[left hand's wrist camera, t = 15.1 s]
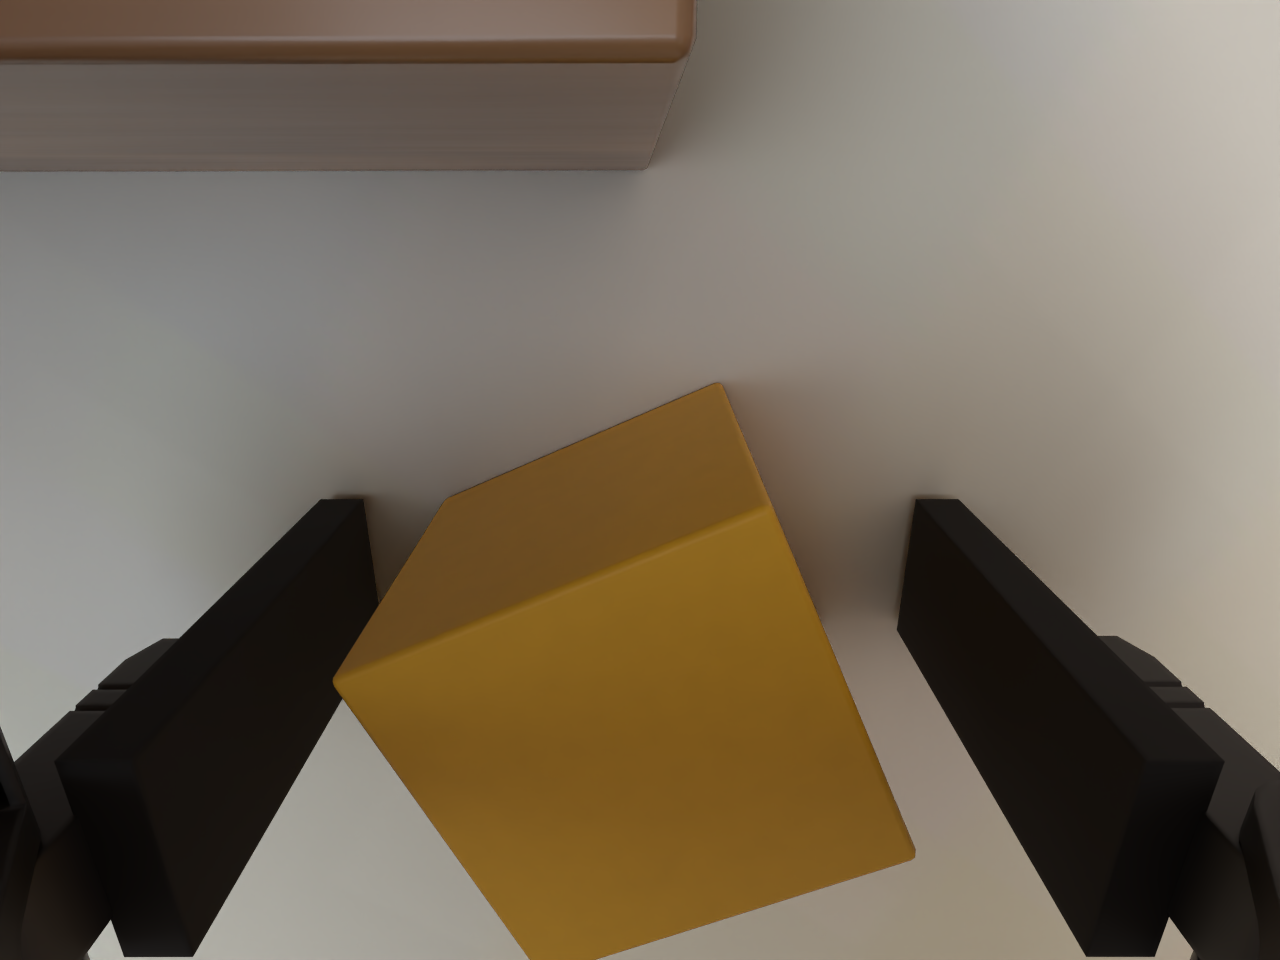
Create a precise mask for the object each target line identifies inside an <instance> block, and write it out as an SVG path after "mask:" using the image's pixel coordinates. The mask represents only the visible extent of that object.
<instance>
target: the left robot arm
mask: <svg viewBox="0 0 1280 960" xmlns="http://www.w3.org/2000/svg"><path fill="white" fill-rule="evenodd" d="M378 606H379V604H378V598H377V591H376V584H375V577H374V570H373V564H372V557H371V550H370V543H369V536H368V529H367V523H366V516H365V509H364V502H363V499H321V500H320V501H319V502H318V503H317V504H316V505H315V506H314V507H312V508H311V509H310V510H309V511H308V512H307V513H306V514H305V515H304V516H303V517H302V518H301V519H300V520H299V521H298V522H297V523H296V524H295V525H294V526H293V527H292V528H291V529H290V530H289V531H288V532H287V533H286V534H285V535H284V536H283V537H282V538H281V539H280V540H279V541H278V542H277V543H276V544H275V545H274V546H273V547H272V548H271V549H270V550H269V551H268V552H267V553H266V554H265V555H264V556H263V557H262V558H261V559H260V560H259V561H258V562H256V563H255V564H254V565H253V566H252V567H251V568H250V569H249V570H248V571H247V572H246V573H245V574H244V575H243V576H242V577H241V578H240V579H239V580H238V581H237V582H236V583H235V584H234V585H233V586H232V587H231V588H230V589H229V590H228V591H227V592H226V593H225V594H224V595H223V596H222V597H221V598H220V599H219V600H218V601H217V602H216V603H215V604H214V605H213V606H212V607H211V608H210V609H209V610H208V611H207V612H206V613H205V614H204V615H203V616H202V617H200V618H199V619H198V620H197V621H196V622H195V623H194V624H193V625H192V626H191V627H190V628H189V629H188V630H187V631H186V632H185V633H184V634H183V635H182V636H181V637H180V638H179V639H161V640H160V641H158V642H156V643H154V644H152V645H151V646H149V647H147V648H145V649H144V650H142V651H140V652H138V653H137V654H135V655H133V656H131V657H130V658H128V659H126V660H125V661H124V662H122V663H121V664H120V665H119V666H118V667H117V668H116V669H115V670H114V671H113V672H112V673H111V674H109V675H108V676H107V677H106V678H105V679H104V680H103V681H102V682H101V683H100V684H99V685H98V689H97V690H92V691H91V692H90V693H89V694H88V695H87V696H86V697H84V698H83V699H82V700H81V701H80V702H79V703H78V704H77V705H76V709H75V711H69V712H68V713H67V714H66V715H65V716H64V717H63V718H62V719H61V720H60V721H58V722H57V723H56V724H55V725H54V726H53V727H52V728H51V729H50V730H49V731H48V732H46V733H45V734H44V735H43V736H42V737H41V738H40V739H39V740H38V741H37V742H36V743H35V744H33V745H32V746H31V747H30V748H29V749H28V750H27V751H26V752H25V753H24V754H23V755H22V756H20V757H19V758H18V759H17V760H16V761H15V762H14V761H13V758H12V756H11V753H10V751H9V748H8V745H7V743H6V740H5V738H4V735H3V733H2V730H1V727H0V960H90V958H89V956H88V953H87V952H88V950H89V949H90V948H91V946H92V945H93V943H94V942H95V941H96V939H97V938H98V936H99V935H100V934H101V932H102V931H103V930H104V928H105V927H106V925H107V924H108V923H109V921H110V920H111V921H112V924H113V927H114V930H115V932H116V935H117V938H118V941H119V943H120V946H121V949H122V952H123V955H124V957H193V956H194V954H195V952H196V950H197V949H198V947H199V945H200V944H201V942H202V940H203V938H204V937H205V935H206V933H207V931H208V930H209V928H210V926H211V925H212V923H213V921H214V919H215V918H216V916H217V914H218V912H219V911H220V909H221V907H222V906H223V904H224V902H225V900H226V899H227V897H228V895H229V894H230V892H231V890H232V888H233V887H234V885H235V883H236V881H237V880H238V878H239V876H240V875H241V873H242V871H243V869H244V868H245V866H246V864H247V862H248V861H249V859H250V857H251V856H252V854H253V852H254V850H255V849H256V847H257V845H258V843H259V842H260V840H261V838H262V837H263V835H264V833H265V831H266V830H267V828H268V826H269V824H270V823H271V821H272V819H273V818H274V816H275V814H276V812H277V811H278V809H279V807H280V805H281V804H282V802H283V800H284V799H285V797H286V795H287V793H288V792H289V790H290V788H291V786H292V785H293V783H294V781H295V780H296V778H297V776H298V774H299V773H300V771H301V769H302V768H303V766H304V764H305V762H306V761H307V759H308V757H309V755H310V754H311V752H312V750H313V749H314V747H315V745H316V743H317V742H318V740H319V738H320V736H321V735H322V733H323V731H324V730H325V728H326V726H327V724H328V723H329V721H330V719H331V717H332V716H333V714H334V712H335V711H336V709H337V707H338V705H339V704H340V702H341V700H342V697H341V695H340V694H339V693H338V691H337V690H336V688H335V687H334V684H333V677H334V676H335V674H336V673H337V671H338V669H339V668H340V666H341V665H342V663H343V661H344V660H345V658H346V657H347V655H348V653H349V652H350V650H351V649H352V647H353V645H354V644H355V642H356V641H357V639H358V638H359V636H360V634H361V633H362V631H363V630H364V628H365V626H366V625H367V623H368V622H369V620H370V618H371V617H372V615H373V614H374V612H375V610H376V609H377V607H378ZM897 631H898V633H899V634H900V636H901V638H902V640H903V641H904V643H905V645H906V646H907V648H908V650H909V652H910V653H911V655H912V657H913V659H914V660H915V662H916V664H917V665H918V667H919V669H920V671H921V672H922V674H923V676H924V678H925V679H926V681H927V683H928V684H929V686H930V688H931V690H932V691H933V693H934V695H935V697H936V698H937V700H938V702H939V703H940V705H941V707H942V709H943V710H944V712H945V714H946V716H947V717H948V719H949V721H950V722H951V724H952V726H953V728H954V729H955V731H956V733H957V734H958V736H959V738H960V740H961V741H962V743H963V745H964V747H965V748H966V750H967V752H968V753H969V755H970V757H971V759H972V760H973V762H974V764H975V766H976V767H977V769H978V771H979V772H980V774H981V776H982V778H983V779H984V781H985V783H986V785H987V786H988V788H989V790H990V791H991V793H992V795H993V797H994V798H995V800H996V802H997V804H998V805H999V807H1000V809H1001V810H1002V812H1003V814H1004V816H1005V817H1006V819H1007V821H1008V823H1009V824H1010V826H1011V828H1012V829H1013V831H1014V833H1015V835H1016V836H1017V838H1018V840H1019V842H1020V843H1021V845H1022V847H1023V848H1024V850H1025V852H1026V854H1027V855H1028V857H1029V859H1030V861H1031V862H1032V864H1033V866H1034V867H1035V869H1036V871H1037V873H1038V874H1039V876H1040V878H1041V879H1042V881H1043V883H1044V885H1045V886H1046V888H1047V890H1048V892H1049V893H1050V895H1051V897H1052V898H1053V900H1054V902H1055V904H1056V905H1057V907H1058V909H1059V911H1060V912H1061V914H1062V916H1063V917H1064V919H1065V921H1066V923H1067V924H1068V926H1069V928H1070V930H1071V931H1072V933H1073V935H1074V936H1075V938H1076V940H1077V942H1078V943H1079V945H1080V947H1081V949H1082V950H1083V952H1084V954H1085V955H1086V957H1155V954H1156V952H1157V949H1158V946H1159V943H1160V940H1161V938H1162V935H1163V932H1164V929H1165V927H1166V924H1167V921H1168V918H1169V917H1170V918H1171V920H1172V921H1173V923H1174V924H1175V925H1176V927H1177V928H1178V929H1179V931H1180V932H1181V934H1182V935H1183V936H1184V938H1185V939H1186V940H1187V942H1188V943H1189V945H1190V946H1191V947H1192V949H1193V950H1194V951H1193V953H1192V956H1191V958H1190V960H1280V772H1279V771H1278V770H1277V769H1276V768H1275V767H1274V766H1273V765H1272V764H1271V763H1269V762H1268V761H1267V760H1266V759H1265V758H1264V757H1263V756H1262V755H1261V754H1260V753H1259V752H1257V751H1256V750H1255V749H1254V748H1253V747H1252V746H1251V745H1250V744H1249V743H1248V742H1246V741H1245V740H1244V739H1243V738H1242V737H1241V736H1240V735H1239V734H1238V733H1237V732H1236V731H1234V730H1233V729H1232V728H1231V727H1230V726H1229V725H1228V724H1227V723H1226V722H1225V721H1224V720H1222V719H1221V718H1220V717H1219V716H1218V715H1217V714H1216V713H1215V712H1214V711H1213V710H1212V709H1210V708H1205V707H1204V702H1203V701H1202V700H1201V699H1199V698H1198V697H1197V696H1196V695H1195V694H1194V693H1193V692H1192V691H1191V690H1190V689H1189V688H1187V687H1182V685H1181V681H1180V680H1179V679H1178V678H1177V677H1175V676H1174V675H1173V674H1172V673H1171V672H1170V671H1169V670H1168V669H1167V668H1166V667H1165V666H1163V665H1162V664H1161V663H1160V662H1159V661H1158V660H1157V659H1156V658H1155V657H1153V656H1151V655H1150V654H1148V653H1146V652H1144V651H1142V650H1141V649H1139V648H1137V647H1135V646H1134V645H1132V644H1130V643H1128V642H1127V641H1125V640H1123V639H1121V638H1119V637H1118V636H1097V635H1096V634H1095V633H1094V632H1093V631H1092V630H1091V629H1090V628H1089V627H1088V626H1087V625H1086V624H1085V623H1084V622H1083V621H1082V620H1081V619H1080V618H1079V617H1078V616H1077V615H1075V614H1074V613H1073V612H1072V611H1071V610H1070V609H1069V608H1068V607H1067V606H1066V605H1065V604H1064V603H1063V602H1062V601H1061V600H1060V599H1059V598H1058V597H1057V596H1056V595H1055V594H1054V593H1053V592H1052V591H1051V590H1050V589H1049V588H1048V587H1047V586H1046V585H1045V584H1044V583H1043V582H1042V581H1041V580H1040V579H1039V578H1038V577H1037V576H1036V575H1035V574H1034V573H1033V572H1032V571H1031V570H1030V569H1029V568H1028V567H1027V566H1026V565H1025V564H1024V563H1023V562H1022V561H1021V560H1020V559H1018V558H1017V557H1016V556H1015V555H1014V554H1013V553H1012V552H1011V551H1010V550H1009V549H1008V548H1007V547H1006V546H1005V545H1004V544H1003V543H1002V542H1001V541H1000V540H999V539H998V538H997V537H996V536H995V535H994V534H993V533H992V532H991V531H990V530H989V529H988V528H987V527H986V526H985V525H984V524H983V523H982V522H981V521H980V520H979V519H978V518H977V517H976V516H975V515H974V514H973V513H972V512H971V511H970V510H969V509H968V508H967V507H966V506H965V505H964V504H963V503H961V502H960V501H959V500H958V499H916V502H915V509H914V516H913V523H912V530H911V537H910V544H909V550H908V557H907V564H906V571H905V578H904V585H903V591H902V598H901V605H900V612H899V619H898V626H897Z"/></svg>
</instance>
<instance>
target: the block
mask: <svg viewBox="0 0 1280 960" xmlns="http://www.w3.org/2000/svg"><path fill="white" fill-rule="evenodd" d="M333 684H334V687H335V688H336V690H337V691H338V693H339V694H340V695H341V697H342V698H343V700H344V701H345V702H346V704H347V705H348V707H349V708H350V709H351V711H352V712H353V713H354V715H355V716H356V718H357V719H358V720H359V722H360V723H361V725H362V726H363V727H364V729H365V730H366V732H367V733H368V734H369V736H370V737H371V739H372V740H373V741H374V743H375V744H376V746H377V747H378V748H379V750H380V751H381V753H382V754H383V755H384V757H385V758H386V760H387V761H388V762H389V764H390V765H391V767H392V768H393V769H394V771H395V772H396V774H397V775H398V776H399V778H400V779H401V781H402V782H403V783H404V785H405V786H406V788H407V789H408V790H409V792H410V793H411V794H412V796H413V797H414V799H415V800H416V801H417V803H418V804H419V806H420V807H421V808H422V810H423V811H424V813H425V814H426V815H427V817H428V818H429V820H430V821H431V822H432V824H433V825H434V827H435V828H436V829H437V831H438V832H439V834H440V835H441V836H442V838H443V839H444V841H445V842H446V843H447V845H448V846H449V848H450V849H451V850H452V852H453V853H454V855H455V856H456V857H457V859H458V860H459V862H460V863H461V864H462V866H463V867H464V868H465V870H466V871H467V873H468V874H469V875H470V877H471V878H472V880H473V881H474V882H475V884H476V885H477V887H478V888H479V889H480V891H481V892H482V894H483V895H484V896H485V898H486V899H487V901H488V902H489V903H490V905H491V906H492V908H493V909H494V910H495V912H496V913H497V915H498V916H499V917H500V919H501V920H502V922H503V923H504V924H505V926H506V927H507V929H508V930H509V931H510V933H511V934H512V936H513V937H514V938H515V940H516V941H517V943H518V944H519V945H520V947H521V948H522V949H523V951H524V952H525V954H526V955H527V956H528V958H529V959H530V960H596V959H599V958H602V957H605V956H609V955H612V954H615V953H618V952H621V951H624V950H628V949H631V948H634V947H637V946H640V945H644V944H647V943H650V942H653V941H656V940H659V939H663V938H666V937H669V936H672V935H675V934H678V933H682V932H685V931H688V930H691V929H694V928H697V927H701V926H704V925H707V924H710V923H713V922H716V921H720V920H723V919H726V918H729V917H732V916H736V915H739V914H742V913H745V912H748V911H751V910H755V909H758V908H761V907H764V906H767V905H770V904H774V903H777V902H780V901H783V900H786V899H789V898H793V897H796V896H799V895H802V894H805V893H809V892H812V891H815V890H818V889H821V888H824V887H828V886H831V885H834V884H837V883H840V882H843V881H847V880H850V879H853V878H856V877H859V876H862V875H866V874H869V873H872V872H875V871H878V870H882V869H885V868H888V867H891V866H894V865H897V864H901V863H904V862H907V861H910V860H912V859H913V858H915V847H914V845H913V842H912V840H911V837H910V835H909V833H908V830H907V828H906V825H905V823H904V821H903V818H902V816H901V813H900V811H899V809H898V806H897V804H896V801H895V799H894V797H893V794H892V792H891V789H890V787H889V785H888V782H887V780H886V777H885V775H884V773H883V770H882V768H881V765H880V763H879V761H878V758H877V756H876V753H875V751H874V749H873V746H872V744H871V741H870V739H869V737H868V734H867V732H866V729H865V727H864V724H863V722H862V720H861V717H860V715H859V712H858V710H857V708H856V705H855V703H854V700H853V698H852V696H851V693H850V691H849V688H848V686H847V684H846V681H845V679H844V676H843V674H842V672H841V669H840V667H839V664H838V662H837V660H836V657H835V655H834V652H833V650H832V648H831V645H830V643H829V640H828V638H827V636H826V633H825V631H824V628H823V626H822V624H821V621H820V619H819V616H818V614H817V612H816V609H815V607H814V604H813V602H812V599H811V597H810V595H809V592H808V590H807V587H806V585H805V583H804V580H803V578H802V575H801V573H800V571H799V568H798V566H797V563H796V561H795V559H794V556H793V554H792V551H791V549H790V547H789V544H788V542H787V539H786V537H785V535H784V532H783V530H782V527H781V525H780V523H779V520H778V518H777V515H776V513H775V511H774V508H773V506H772V503H771V501H770V499H769V496H768V494H767V491H766V489H765V487H764V484H763V482H762V479H761V477H760V475H759V472H758V470H757V467H756V465H755V463H754V460H753V458H752V455H751V453H750V451H749V448H748V446H747V443H746V441H745V439H744V436H743V434H742V431H741V429H740V427H739V424H738V422H737V419H736V417H735V415H734V412H733V410H732V408H731V405H730V403H729V400H728V398H727V396H726V393H725V391H724V388H723V386H722V385H721V384H720V383H714V384H712V385H710V386H707V387H705V388H703V389H700V390H698V391H696V392H693V393H691V394H689V395H686V396H684V397H682V398H679V399H677V400H675V401H672V402H670V403H668V404H666V405H663V406H661V407H659V408H656V409H654V410H652V411H649V412H647V413H645V414H642V415H640V416H638V417H635V418H633V419H631V420H628V421H626V422H624V423H621V424H619V425H617V426H614V427H612V428H610V429H607V430H605V431H603V432H600V433H598V434H596V435H593V436H591V437H589V438H586V439H584V440H582V441H580V442H577V443H575V444H573V445H570V446H568V447H566V448H563V449H561V450H559V451H556V452H554V453H552V454H549V455H547V456H545V457H542V458H540V459H538V460H535V461H533V462H531V463H528V464H526V465H524V466H521V467H519V468H517V469H514V470H512V471H510V472H507V473H505V474H503V475H500V476H498V477H496V478H494V479H491V480H489V481H487V482H484V483H482V484H480V485H477V486H475V487H473V488H470V489H468V490H466V491H463V492H461V493H459V494H456V495H454V496H452V497H449V498H447V499H446V500H445V501H444V502H443V504H442V505H441V507H440V508H439V510H438V511H437V513H436V515H435V516H434V518H433V519H432V521H431V523H430V524H429V526H428V527H427V529H426V531H425V532H424V534H423V535H422V537H421V539H420V540H419V542H418V543H417V545H416V547H415V548H414V550H413V551H412V553H411V555H410V556H409V558H408V559H407V561H406V563H405V564H404V566H403V567H402V569H401V571H400V572H399V574H398V575H397V577H396V578H395V580H394V582H393V583H392V585H391V586H390V588H389V590H388V591H387V593H386V594H385V596H384V598H383V599H382V601H381V602H380V604H379V606H378V607H377V609H376V610H375V612H374V614H373V615H372V617H371V618H370V620H369V622H368V623H367V625H366V626H365V628H364V630H363V631H362V633H361V634H360V636H359V638H358V639H357V641H356V642H355V644H354V645H353V647H352V649H351V650H350V652H349V653H348V655H347V657H346V658H345V660H344V661H343V663H342V665H341V666H340V668H339V669H338V671H337V673H336V674H335V676H334V677H333Z"/></svg>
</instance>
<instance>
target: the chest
mask: <svg viewBox="0 0 1280 960" xmlns="http://www.w3.org/2000/svg"><path fill="white" fill-rule="evenodd" d="M696 29H697V0H0V172H55V171H455V170H644V169H646V168H647V167H648V164H649V162H650V159H651V156H652V154H653V151H654V148H655V146H656V143H657V141H658V138H659V135H660V133H661V130H662V127H663V125H664V122H665V119H666V117H667V114H668V112H669V109H670V106H671V104H672V101H673V98H674V96H675V93H676V90H677V88H678V85H679V82H680V80H681V77H682V75H683V72H684V69H685V67H686V64H687V61H688V59H689V56H690V53H691V51H692V48H693V45H694V43H695V40H696Z"/></svg>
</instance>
